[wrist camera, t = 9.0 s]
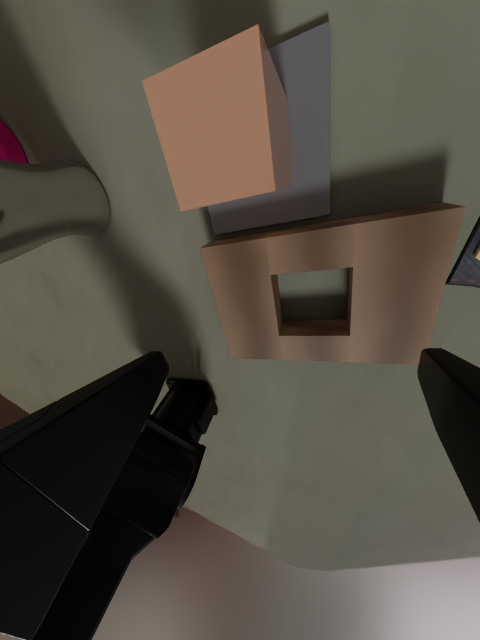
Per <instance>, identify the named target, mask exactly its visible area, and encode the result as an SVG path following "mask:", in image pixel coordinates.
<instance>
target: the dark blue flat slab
mask: <svg viewBox="0 0 480 640" xmlns="http://www.w3.org/2000/svg"><path fill="white" fill-rule="evenodd" d="M445 284H449V285H461V286H472V287H478V288H480V217H479V219H478V221H477V223H476V225H475V227H474V229H473V230H472V232H471V234H470V236H469V238H468V240H467V242H466V244H465V246H464V248H463V250H462V252H461V254H460V256H459V258H458V260H457V262H456V264H455V265H454V267H453V269H452V271H451V273H450V275H449V277H448V279H447V281H446V283H445Z"/></svg>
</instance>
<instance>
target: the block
mask: <svg viewBox="0 0 480 640" xmlns="http://www.w3.org/2000/svg"><path fill="white" fill-rule="evenodd" d="M142 82H143V86H144V89H145V93H146V96H147V99H148V103H149V106H150V109H151V113H152V116H153V120H154V123H155V126H156V130H157V133H158V137H159V140H160V143H161V147H162V150H163V153H164V157H165V160H166V164H167V167H168V170H169V174H170V177H171V180H172V184H173V187H174V191H175V194H176V197H177V201H178V204H179V207H180V211H181V212H182V211H186V210H191V209H195V208H200V207H204V206H209V205H213V204H218V203H223V202H227V201H232V200H236V199H241V198H245V197H250V196H254V195H259V194H263V193H268V192H272V191H276V190H280V189H283V188H286V187H289V186H292V185H293V175H292V161H291V146H290V131H289V117H288V102H287V98H286V95H285V92H284V90H283V87H282V85H281V82H280V79H279V77H278V74H277V72H276V69H275V66H274V64H273V61H272V59H271V56H270V53H269V51H268V48H267V46H266V43H265V40H264V38H263V35H262V33H261V30H260V27H259V25H258V24H257V25H255V26H253V27H251V28H249V29H247V30H245V31H243V32H241V33H239V34H237V35H235V36H233V37H231V38H229V39H227V40H224V41H222V42H220V43H218V44H216V45H214V46H212V47H210V48H208V49H206V50H204V51H202V52H200V53H198V54H196V55H194V56H192V57H190V58H188V59H186V60H184V61H182V62H180V63H178V64H176V65H174V66H172V67H170V68H168V69H166V70H164V71H161V72H159V73H157V74H155V75H153V76H151V77H149V78H147V79H145V80H143V81H142Z"/></svg>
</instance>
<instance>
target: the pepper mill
mask: <svg viewBox="0 0 480 640" xmlns="http://www.w3.org/2000/svg"><path fill="white" fill-rule="evenodd" d="M0 159H5V160H9V161H14V162H21V163H28V161H27V159H26V156H25V153H24V151H23V150H22V148H21V146H20V144H19V142H18V141H17V139H16V138H15V137H14V135H13V134H12V132H11V131H10V130H9V129H8V128H7V127H6V126H5V125H4V124H3V123H2V122H1V121H0Z"/></svg>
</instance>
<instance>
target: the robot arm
mask: <svg viewBox="0 0 480 640" xmlns="http://www.w3.org/2000/svg"><path fill="white" fill-rule="evenodd" d="M168 372H169V365H168V363H167V361H166V359H165V357H164V355H163V353H162V352H161V351H151V352H149V353H147V354H145V355H143V356H141V357H139V358H137V359H135V360H134V361H132V362H130V363H128V364H126V365H124V366H122V367H120V368H118V369H116V370H114V371H113V372H111V373H109V374H107V375H105V376H103V377H101V378H99V379H97V380H95V381H93V382H92V383H90V384H88V385H86V386H84V387H82V388H80V389H78V390H76V391H74V392H72V393H70V394H69V395H67V396H65V397H63V398H61V399H59V400H58V401H55V402H53V403H51V404H49V405H47V406H46V407H44V408H42V409H40V410H38V411H36V412H34V413H32V414H30V415H28V416H26V417H24V418H22V419H20V420H18V421H16V422H14V423H12V424H10V425H8V426H6V427H4V428H2V429H0V633H1V634H4V635H8V636H11V637H14V638H18V639H21V640H92V638H93V636H94V634H95V632H96V630H97V628H98V626H99V624H100V622H101V620H102V618H103V616H104V614H105V612H106V610H107V608H108V606H109V604H110V602H111V600H112V597H113V596H114V594H115V591H116V590H117V587H118V586H119V584H120V581H121V580H122V577H123V576H124V573H125V571H126V570H127V567H128V566H129V564H130V562H131V560H132V559H133V558H134V557H135V556H136V555H137V554H138V553H139V552H141V551H142V550H143V549H144V548H145V547H146V546H147V545H148V544H149V543H151V542H152V541H153V540H154V539H155V538H158V537H160V536H161V534H163V533H164V532H165V531H166V529H167V528H168V527H169V525H170V523H171V520H172V518H173V516H174V514H175V512H176V510H177V508H178V509H180V508H181V507H182V506H183V505H184V503H185V502H186V500H187V498H188V496H189V494H190V492H191V490H192V488H193V486H194V483H195V481H196V478H197V474H198V471H199V468H200V465H201V461H202V458H203V455H204V452H205V449H206V446H204V445H201V444H199V443H198V442H199V440H200V437H201V435H202V434H205V433H206V431H207V429H208V427H209V424H210V422H211V420H212V417H213V415H217V413H218V410H217V407H216V404H215V402H214V399H213V396H212V394H211V391H210V388H209V386H208V383H207V382H205V381H198V380H185V379H172V378H168V379H167V380H166V384H167V386H168V388H169V391H168V392H167V394H166V395H165V397H164V398H163V400H162V401H161V402H160V404H159V405H158V407H157V408H156V410H155V411H154V412H153V414H152V415H151V414H150V413H151V411H152V409H153V407H154V405H155V403H156V401H157V399H158V396H159V394H160V391H161V389H162V386H163V384H164V382H165V379H166V377H167V374H168ZM417 374H418V379H419V382H420V385H421V388H422V391H423V394H424V397H425V400H426V403H427V406H428V409H429V412H430V415H431V418H432V421H433V424H434V426H435V429H436V431H437V434H438V436H439V438H440V440H441V443H442V445H443V447H444V449H445V451H446V453H447V455H448V457H449V459H450V461H451V463H452V466H453V468H454V470H455V472H456V474H457V476H458V478H459V480H460V482H461V484H462V487H463V489H464V491H465V493H466V495H467V497H468V499H469V501H470V503H471V505H472V508H473V510H474V512H475V514H476V516H477V518H478V520H479V522H480V368H479V367H477V366H475V365H473V364H471V363H469V362H467V361H465V360H463V359H462V358H460V357H458V356H456V355H454V354H452V353H450V352H448V351H446V350H444V349H442V348H425V349H423V350H422V351H421V355H420V360H419V365H418V371H417ZM88 530H89V531H88ZM87 534H88V535H87ZM86 536H87V537H86Z"/></svg>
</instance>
